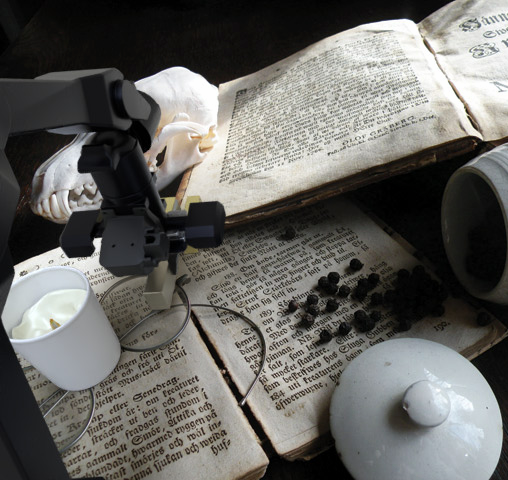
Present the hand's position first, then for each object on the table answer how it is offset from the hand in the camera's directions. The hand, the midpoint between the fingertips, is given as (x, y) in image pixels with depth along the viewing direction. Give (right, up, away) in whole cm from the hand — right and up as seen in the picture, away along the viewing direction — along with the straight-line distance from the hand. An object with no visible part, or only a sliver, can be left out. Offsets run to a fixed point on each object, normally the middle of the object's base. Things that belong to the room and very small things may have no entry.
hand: (165, 273), depth 63 cm
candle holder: (-8, -10, -5) cm, 14 cm away
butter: (-4, +5, +9) cm, 11 cm away
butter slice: (+1, +6, +9) cm, 11 cm away
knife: (0, +2, +3) cm, 4 cm away
